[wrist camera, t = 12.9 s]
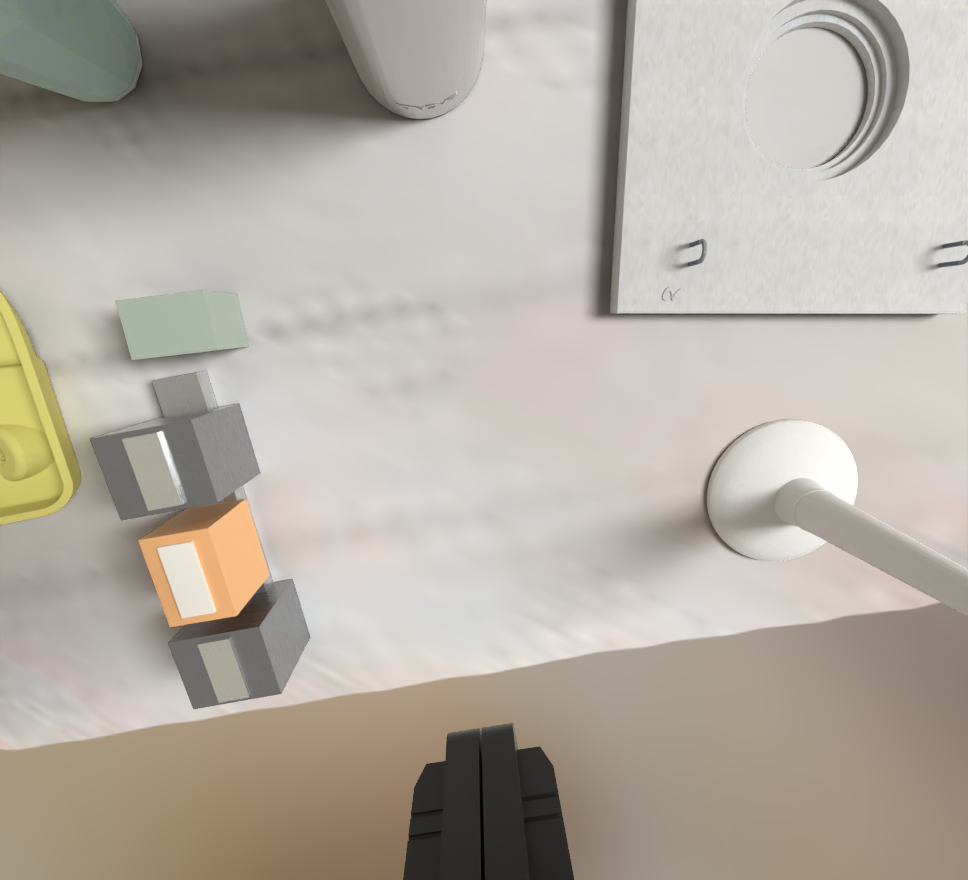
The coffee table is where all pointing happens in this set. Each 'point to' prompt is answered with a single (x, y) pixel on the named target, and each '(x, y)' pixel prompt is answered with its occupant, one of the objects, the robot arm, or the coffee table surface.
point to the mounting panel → (787, 191)
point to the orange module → (205, 562)
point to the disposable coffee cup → (70, 47)
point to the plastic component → (30, 430)
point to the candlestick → (814, 508)
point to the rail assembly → (192, 483)
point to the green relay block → (182, 323)
